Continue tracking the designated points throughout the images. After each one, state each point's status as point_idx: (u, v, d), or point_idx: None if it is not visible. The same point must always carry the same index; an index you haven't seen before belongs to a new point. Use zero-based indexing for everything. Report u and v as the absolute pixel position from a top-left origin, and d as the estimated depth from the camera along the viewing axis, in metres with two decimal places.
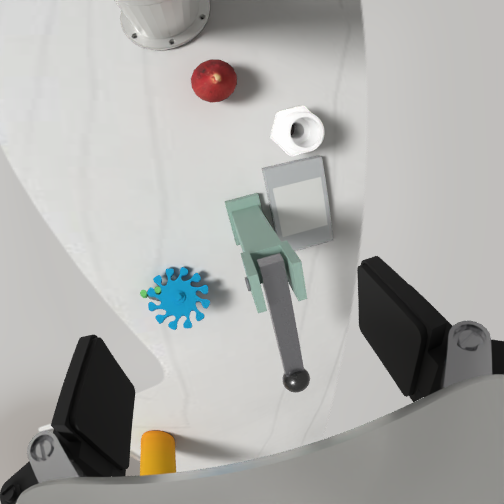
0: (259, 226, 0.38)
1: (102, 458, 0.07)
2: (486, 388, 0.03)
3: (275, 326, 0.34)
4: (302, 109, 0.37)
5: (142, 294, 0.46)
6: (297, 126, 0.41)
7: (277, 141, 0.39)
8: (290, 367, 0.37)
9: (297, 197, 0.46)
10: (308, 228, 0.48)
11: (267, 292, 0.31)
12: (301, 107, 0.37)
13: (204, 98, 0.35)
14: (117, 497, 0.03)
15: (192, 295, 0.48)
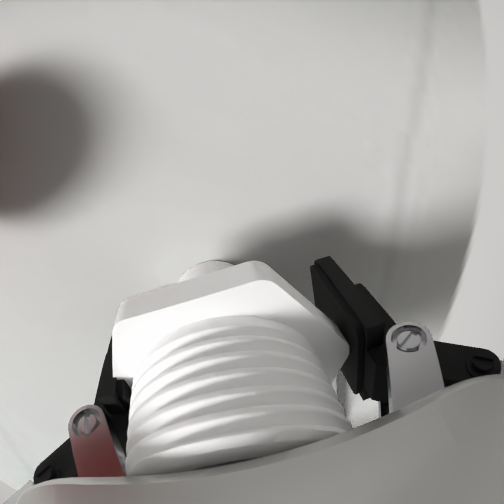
0: None
1: None
2: (486, 388, 0.03)
3: None
4: (256, 301, 0.07)
5: None
6: None
7: None
8: None
9: None
10: None
11: None
12: (250, 291, 0.07)
13: None
14: (117, 497, 0.03)
15: None
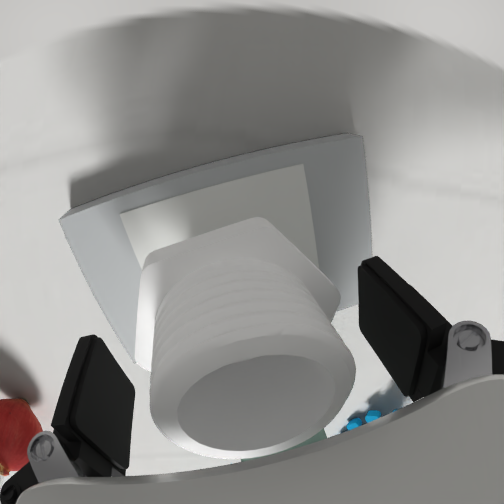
0: None
1: (102, 458, 0.07)
2: (486, 388, 0.03)
3: None
4: (260, 245, 0.09)
5: None
6: None
7: None
8: None
9: None
10: (308, 234, 0.14)
11: None
12: (255, 236, 0.08)
13: None
14: (117, 497, 0.03)
15: None
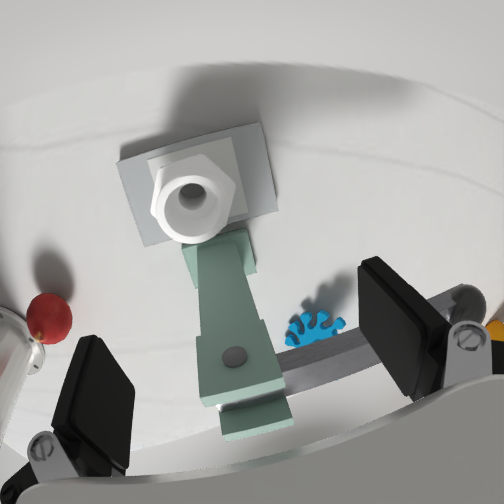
0: None
1: (102, 458, 0.07)
2: (486, 388, 0.03)
3: (340, 377, 0.18)
4: (200, 161, 0.23)
5: None
6: None
7: None
8: None
9: None
10: (235, 170, 0.29)
11: (268, 400, 0.18)
12: (198, 158, 0.23)
13: (67, 332, 0.29)
14: (117, 497, 0.03)
15: (323, 333, 0.36)
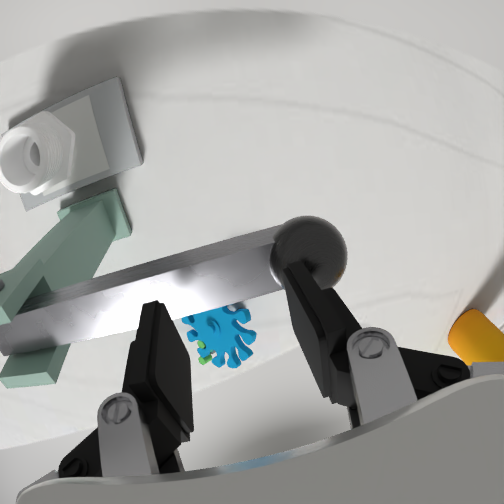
0: None
1: (173, 420, 0.08)
2: (486, 388, 0.03)
3: (101, 334, 0.14)
4: (41, 117, 0.19)
5: (202, 362, 0.35)
6: None
7: None
8: (245, 285, 0.14)
9: None
10: (94, 127, 0.24)
11: (35, 348, 0.13)
12: (39, 115, 0.19)
13: None
14: (117, 497, 0.03)
15: (214, 309, 0.32)
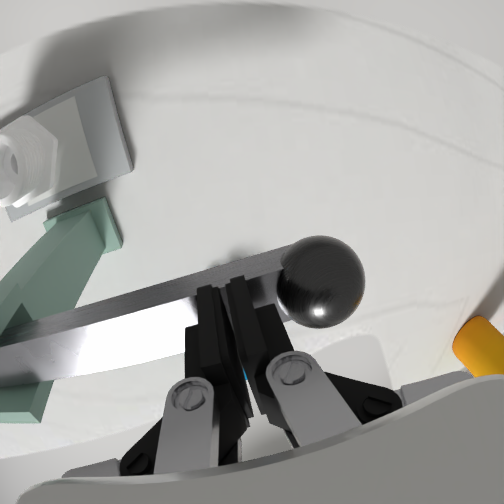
0: None
1: (239, 404, 0.08)
2: (486, 388, 0.03)
3: (86, 371, 0.11)
4: (21, 123, 0.16)
5: None
6: None
7: None
8: None
9: None
10: (80, 131, 0.22)
11: (16, 383, 0.11)
12: (19, 120, 0.16)
13: None
14: (117, 497, 0.03)
15: None
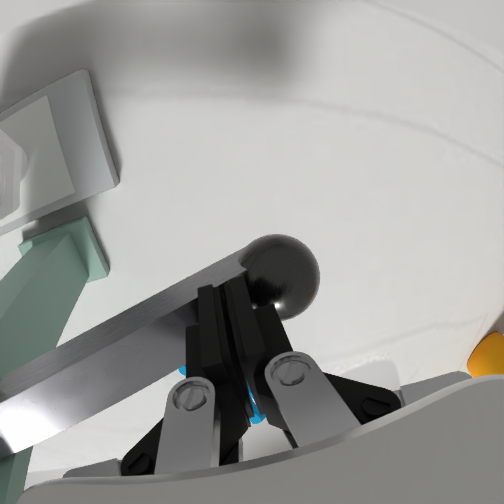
0: None
1: (240, 404, 0.08)
2: (486, 388, 0.03)
3: (67, 425, 0.09)
4: None
5: None
6: None
7: None
8: None
9: None
10: (54, 137, 0.17)
11: None
12: None
13: None
14: (117, 497, 0.03)
15: None
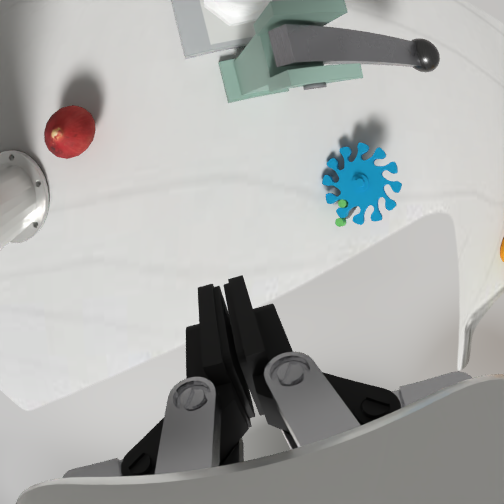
0: (247, 61, 0.23)
1: (241, 404, 0.08)
2: (486, 388, 0.03)
3: (371, 60, 0.18)
4: None
5: (340, 224, 0.37)
6: None
7: (211, 6, 0.22)
8: (412, 57, 0.21)
9: None
10: None
11: (330, 58, 0.16)
12: None
13: (87, 140, 0.27)
14: (117, 497, 0.03)
15: (364, 164, 0.34)
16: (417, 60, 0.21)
